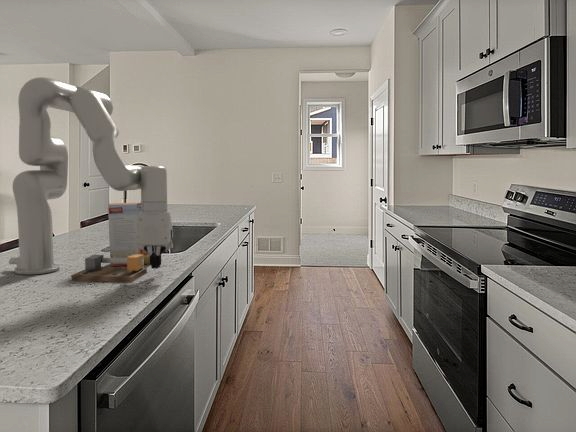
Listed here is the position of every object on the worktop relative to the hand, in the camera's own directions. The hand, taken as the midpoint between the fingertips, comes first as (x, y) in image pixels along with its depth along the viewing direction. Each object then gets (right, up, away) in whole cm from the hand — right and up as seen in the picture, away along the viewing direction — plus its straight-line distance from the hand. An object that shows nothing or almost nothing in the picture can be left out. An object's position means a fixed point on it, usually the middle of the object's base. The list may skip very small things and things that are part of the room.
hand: (155, 267), depth 146 cm
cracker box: (-13, -1, +19) cm, 23 cm away
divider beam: (-14, -1, 0) cm, 14 cm away
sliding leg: (-7, -1, 0) cm, 7 cm away
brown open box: (-14, -3, 0) cm, 14 cm away
